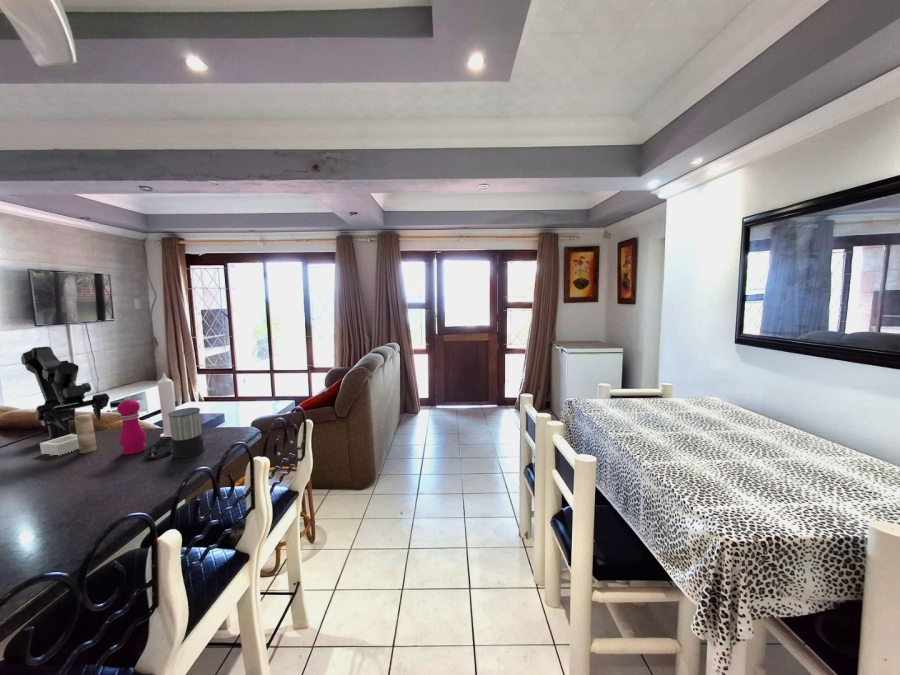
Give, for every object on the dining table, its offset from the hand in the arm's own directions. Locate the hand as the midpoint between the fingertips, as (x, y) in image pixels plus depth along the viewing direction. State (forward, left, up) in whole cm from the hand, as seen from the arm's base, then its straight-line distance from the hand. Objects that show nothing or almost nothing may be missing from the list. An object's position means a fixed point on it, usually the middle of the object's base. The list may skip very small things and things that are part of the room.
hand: (82, 424), depth 133 cm
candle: (+18, +17, -10) cm, 27 cm away
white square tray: (-8, -2, -10) cm, 13 cm away
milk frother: (+38, +3, -10) cm, 39 cm away
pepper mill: (+20, +2, -10) cm, 22 cm away
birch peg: (+2, -1, -10) cm, 10 cm away
